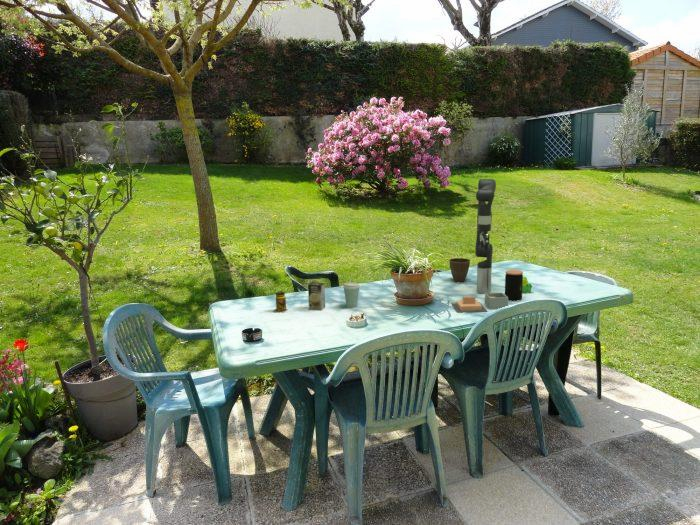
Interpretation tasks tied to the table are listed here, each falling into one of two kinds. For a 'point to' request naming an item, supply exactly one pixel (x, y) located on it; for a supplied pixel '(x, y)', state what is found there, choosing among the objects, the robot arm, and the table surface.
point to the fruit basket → (526, 286)
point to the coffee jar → (513, 284)
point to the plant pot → (459, 268)
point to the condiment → (280, 302)
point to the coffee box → (316, 295)
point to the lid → (468, 303)
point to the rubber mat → (468, 310)
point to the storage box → (496, 300)
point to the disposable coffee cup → (351, 294)
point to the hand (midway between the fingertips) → (484, 249)
